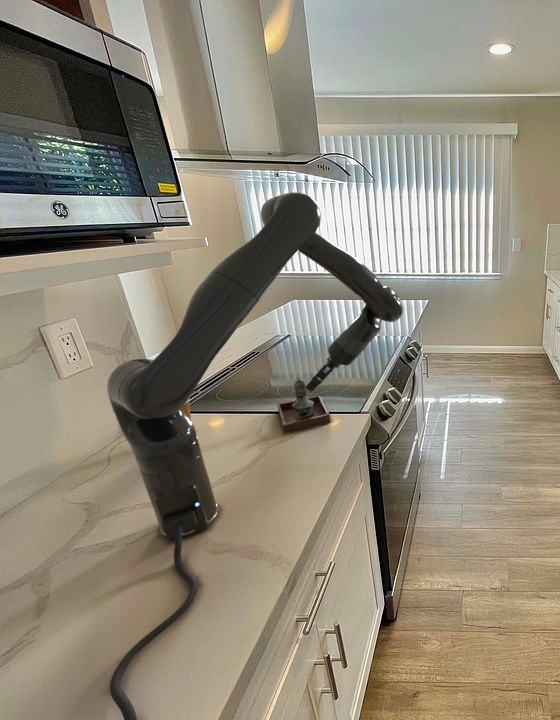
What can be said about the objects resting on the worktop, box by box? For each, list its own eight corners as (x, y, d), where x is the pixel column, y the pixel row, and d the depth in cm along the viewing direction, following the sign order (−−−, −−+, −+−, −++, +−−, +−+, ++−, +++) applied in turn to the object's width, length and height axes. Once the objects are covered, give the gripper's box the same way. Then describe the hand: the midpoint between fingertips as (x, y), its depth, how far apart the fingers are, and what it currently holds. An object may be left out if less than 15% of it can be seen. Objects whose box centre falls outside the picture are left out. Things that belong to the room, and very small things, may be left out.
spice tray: (330, 422, 115) (329, 414, 114) (284, 433, 109) (283, 425, 108) (320, 402, 127) (319, 395, 126) (278, 411, 121) (277, 404, 120)
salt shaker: (301, 421, 114) (294, 383, 110) (290, 415, 117) (283, 378, 113) (319, 414, 118) (313, 377, 114) (308, 408, 121) (302, 372, 117)
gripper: (346, 329, 116) (312, 366, 120) (330, 344, 103) (293, 385, 107) (366, 346, 118) (332, 381, 122) (352, 363, 105) (315, 402, 109)
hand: (314, 383), depth 114 cm, fingers open, 8 cm apart
